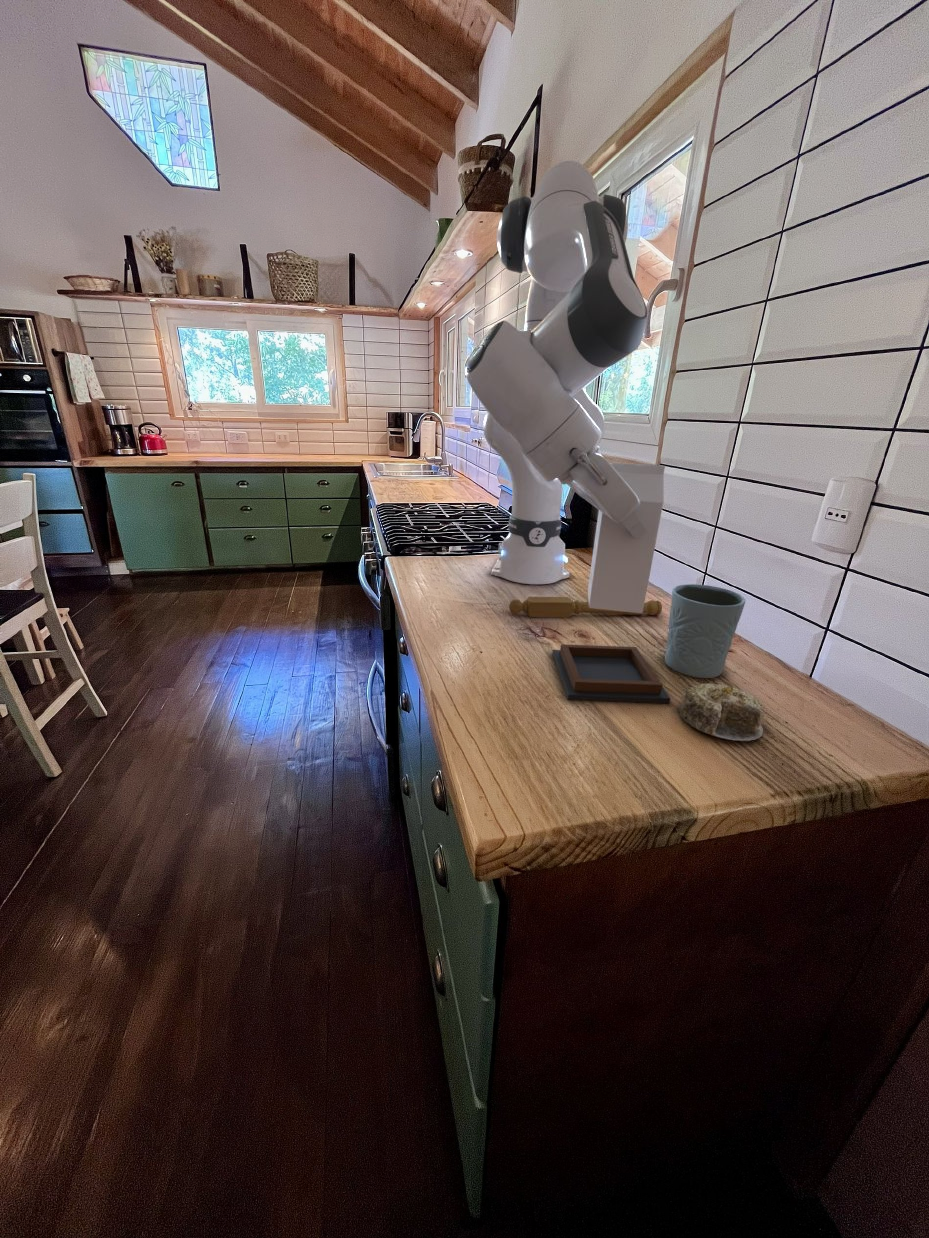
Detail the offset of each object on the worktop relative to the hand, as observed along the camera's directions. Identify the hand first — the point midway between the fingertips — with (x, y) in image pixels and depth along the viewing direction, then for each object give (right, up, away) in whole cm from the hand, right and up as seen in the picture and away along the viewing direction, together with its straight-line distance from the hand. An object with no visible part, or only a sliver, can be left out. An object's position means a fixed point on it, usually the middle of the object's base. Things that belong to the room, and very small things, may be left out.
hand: (629, 527), depth 67 cm
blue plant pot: (+14, -20, +13) cm, 27 cm away
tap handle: (+1, -12, +31) cm, 33 cm away
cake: (+11, -26, -2) cm, 28 cm away
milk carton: (-1, -10, +4) cm, 11 cm away
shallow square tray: (-1, -21, +8) cm, 22 cm away
